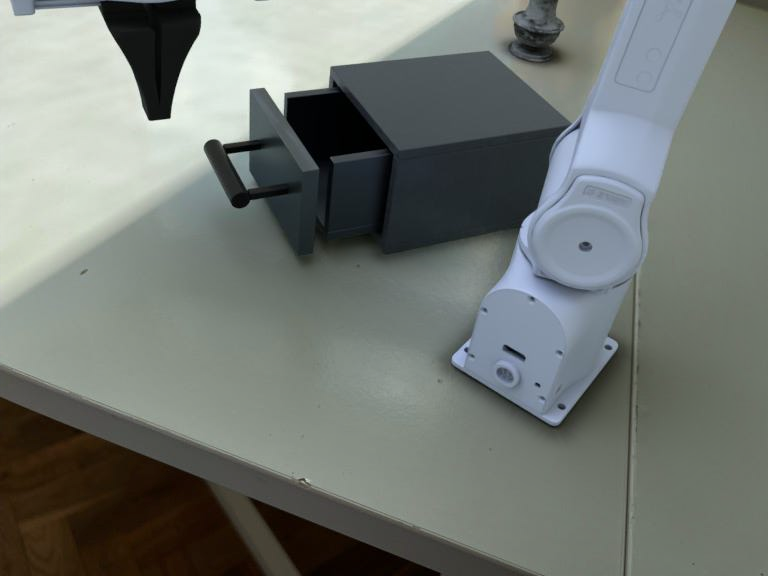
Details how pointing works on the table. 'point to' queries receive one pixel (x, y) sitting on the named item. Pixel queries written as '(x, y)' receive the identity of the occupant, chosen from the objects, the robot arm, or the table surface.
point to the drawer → (310, 166)
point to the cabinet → (454, 144)
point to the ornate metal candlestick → (536, 31)
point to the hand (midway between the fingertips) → (156, 112)
